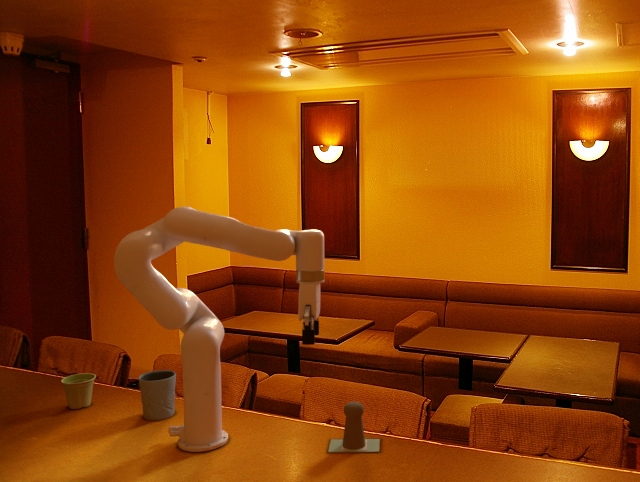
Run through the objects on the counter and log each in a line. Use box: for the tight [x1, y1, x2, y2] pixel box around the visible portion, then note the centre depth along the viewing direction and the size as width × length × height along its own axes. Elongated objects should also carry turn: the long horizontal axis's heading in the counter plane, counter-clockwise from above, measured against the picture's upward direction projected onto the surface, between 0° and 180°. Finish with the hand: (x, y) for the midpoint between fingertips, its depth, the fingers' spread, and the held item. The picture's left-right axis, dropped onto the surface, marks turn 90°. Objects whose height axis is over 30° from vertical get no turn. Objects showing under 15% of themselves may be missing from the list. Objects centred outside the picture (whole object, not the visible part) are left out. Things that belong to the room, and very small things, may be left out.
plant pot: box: [60, 372, 97, 410], centre depth 186 cm, size 9×9×9 cm
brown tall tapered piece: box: [342, 401, 366, 450], centre depth 157 cm, size 6×6×11 cm
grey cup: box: [138, 369, 177, 421], centre depth 178 cm, size 10×10×12 cm
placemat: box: [327, 438, 381, 454], centre depth 157 cm, size 13×8×1 cm, turn 91°
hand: (310, 339), depth 163 cm, fingers open, 9 cm apart
